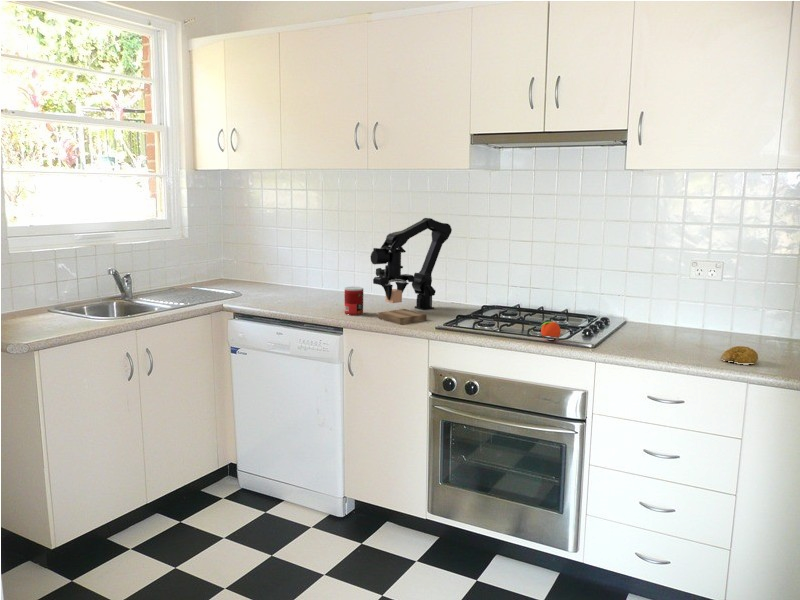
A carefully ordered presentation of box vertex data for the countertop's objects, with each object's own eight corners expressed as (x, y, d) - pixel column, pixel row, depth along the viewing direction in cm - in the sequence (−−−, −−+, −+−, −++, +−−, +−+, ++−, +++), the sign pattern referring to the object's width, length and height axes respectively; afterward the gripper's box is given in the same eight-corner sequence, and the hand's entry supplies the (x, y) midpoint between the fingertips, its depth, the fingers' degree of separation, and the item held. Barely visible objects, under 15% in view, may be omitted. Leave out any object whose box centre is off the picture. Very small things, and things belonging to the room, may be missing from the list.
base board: (404, 314, 282) (404, 308, 282) (426, 320, 272) (426, 314, 271) (378, 318, 273) (378, 312, 273) (400, 324, 263) (400, 318, 262)
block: (394, 300, 292) (394, 289, 291) (401, 302, 288) (402, 290, 287) (385, 301, 288) (385, 290, 288) (392, 303, 285) (393, 291, 284)
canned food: (360, 315, 278) (360, 289, 276) (342, 314, 280) (342, 288, 278) (365, 312, 286) (365, 287, 284) (347, 311, 287) (347, 286, 285)
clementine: (543, 343, 236) (544, 323, 235) (534, 338, 243) (535, 319, 241) (563, 342, 238) (565, 322, 237) (554, 337, 245) (555, 318, 244)
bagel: (715, 357, 221) (716, 343, 220) (749, 359, 220) (751, 345, 220) (727, 365, 212) (728, 351, 211) (763, 367, 211) (764, 352, 210)
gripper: (398, 260, 297) (398, 294, 300) (365, 262, 285) (365, 298, 288) (415, 262, 289) (414, 298, 292) (381, 265, 277) (381, 302, 280)
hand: (393, 299), depth 288 cm, fingers closed on block, 5 cm apart
